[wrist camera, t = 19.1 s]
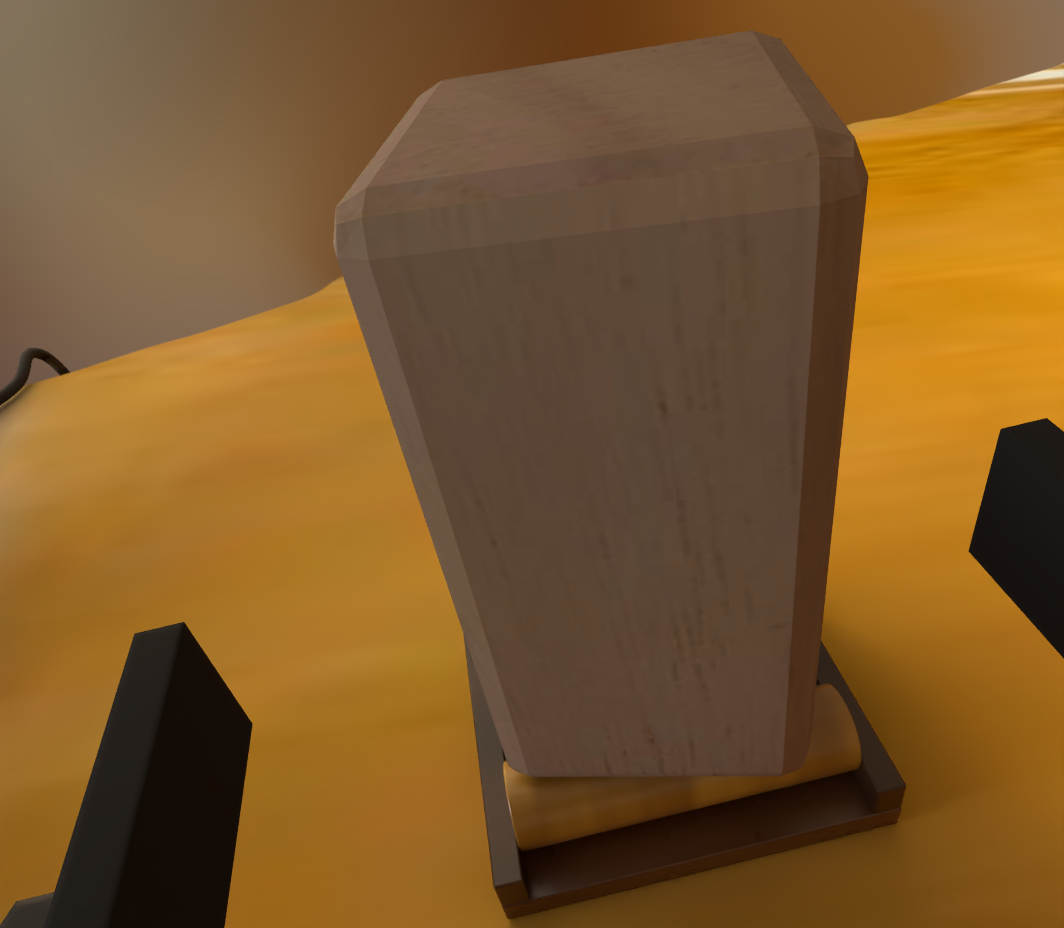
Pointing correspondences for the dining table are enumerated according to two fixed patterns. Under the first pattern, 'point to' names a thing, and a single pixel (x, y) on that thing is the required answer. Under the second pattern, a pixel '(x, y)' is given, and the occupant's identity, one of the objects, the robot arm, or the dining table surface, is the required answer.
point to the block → (623, 390)
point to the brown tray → (676, 810)
